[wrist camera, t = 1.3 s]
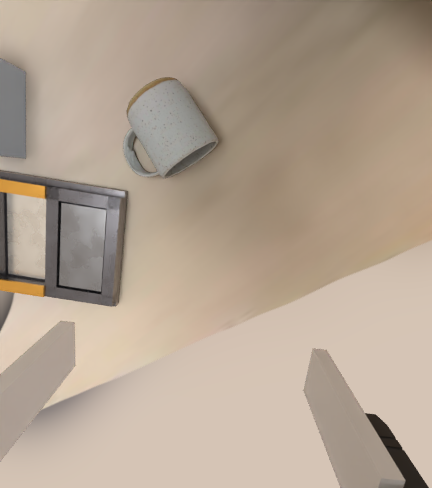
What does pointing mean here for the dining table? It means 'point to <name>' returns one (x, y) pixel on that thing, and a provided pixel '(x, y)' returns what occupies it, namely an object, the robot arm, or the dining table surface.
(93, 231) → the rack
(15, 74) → the blue-grey rectangular block
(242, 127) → the dining table surface
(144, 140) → the ceramic mug
